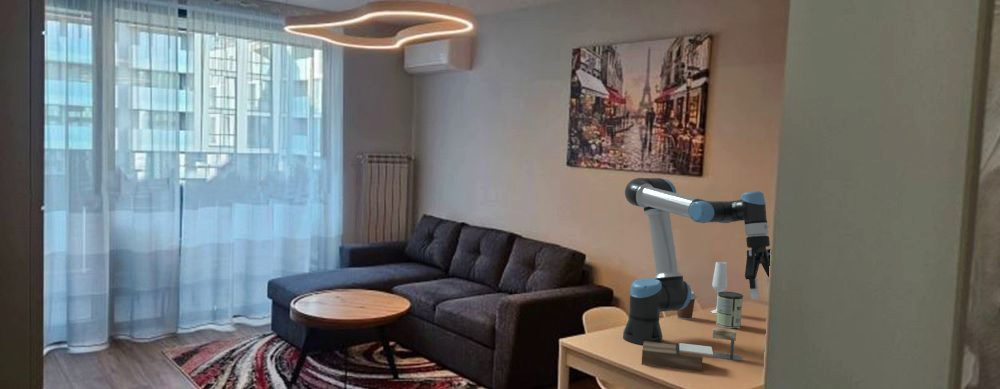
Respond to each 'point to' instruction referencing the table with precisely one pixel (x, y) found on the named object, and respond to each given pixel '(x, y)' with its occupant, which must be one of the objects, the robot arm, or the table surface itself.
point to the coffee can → (729, 309)
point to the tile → (695, 350)
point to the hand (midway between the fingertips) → (764, 297)
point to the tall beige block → (727, 336)
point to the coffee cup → (687, 309)
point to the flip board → (669, 357)
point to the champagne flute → (719, 279)
